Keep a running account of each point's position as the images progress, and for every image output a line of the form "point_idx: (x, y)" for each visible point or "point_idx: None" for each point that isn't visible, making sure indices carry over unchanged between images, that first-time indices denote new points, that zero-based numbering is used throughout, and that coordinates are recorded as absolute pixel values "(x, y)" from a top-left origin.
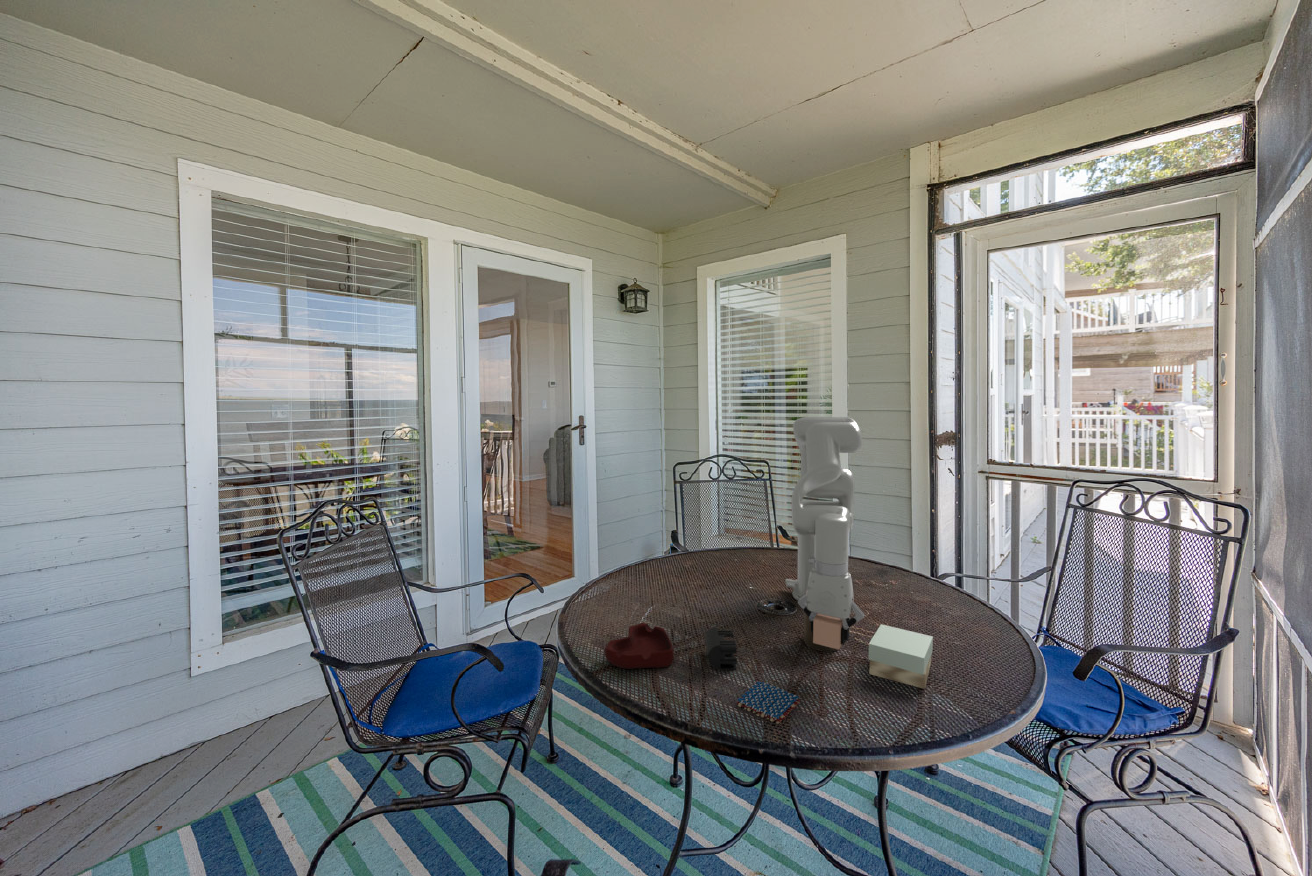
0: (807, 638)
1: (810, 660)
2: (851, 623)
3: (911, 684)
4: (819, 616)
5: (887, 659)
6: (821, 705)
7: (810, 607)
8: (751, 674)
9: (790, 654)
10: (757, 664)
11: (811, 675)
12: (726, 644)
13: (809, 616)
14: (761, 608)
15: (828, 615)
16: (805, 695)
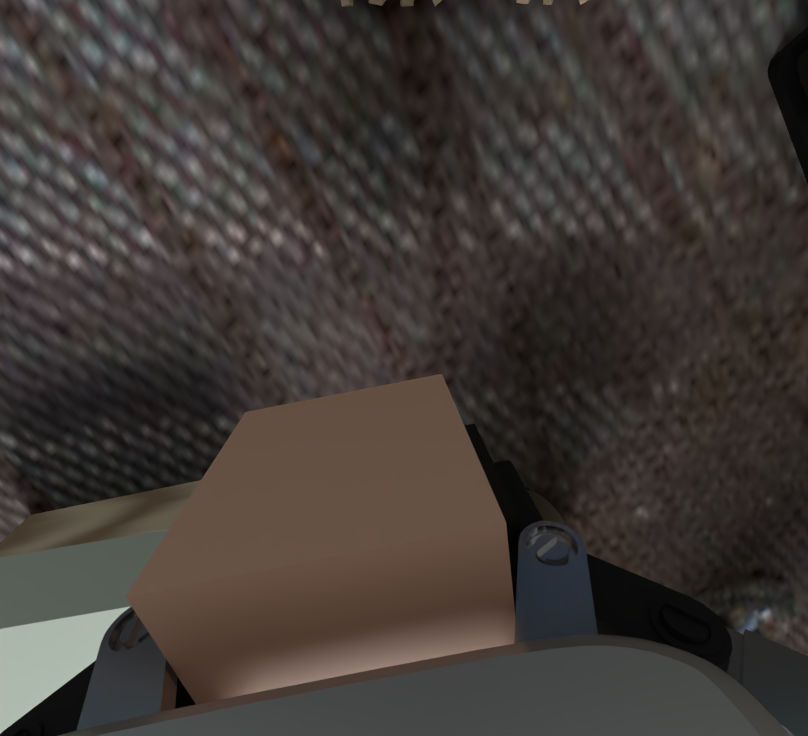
0: (544, 513)
1: (474, 406)
2: (58, 709)
3: (76, 507)
4: (469, 619)
5: (120, 557)
6: (232, 64)
7: (684, 730)
8: (675, 84)
9: (565, 392)
10: (674, 206)
11: (415, 301)
12: None
13: (585, 559)
14: (773, 591)
15: (264, 700)
16: (348, 99)
